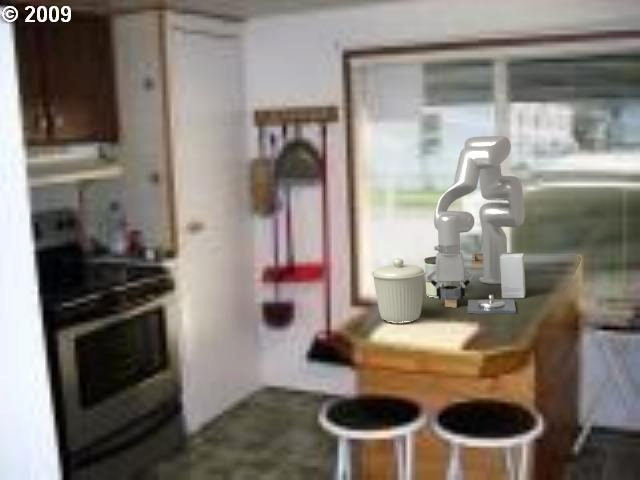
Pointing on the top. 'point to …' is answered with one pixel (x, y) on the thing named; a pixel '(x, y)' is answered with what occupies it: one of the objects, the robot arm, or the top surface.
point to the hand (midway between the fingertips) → (450, 298)
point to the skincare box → (512, 275)
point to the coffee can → (429, 268)
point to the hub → (491, 306)
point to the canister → (399, 291)
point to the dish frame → (479, 263)
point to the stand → (451, 303)
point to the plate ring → (450, 292)
